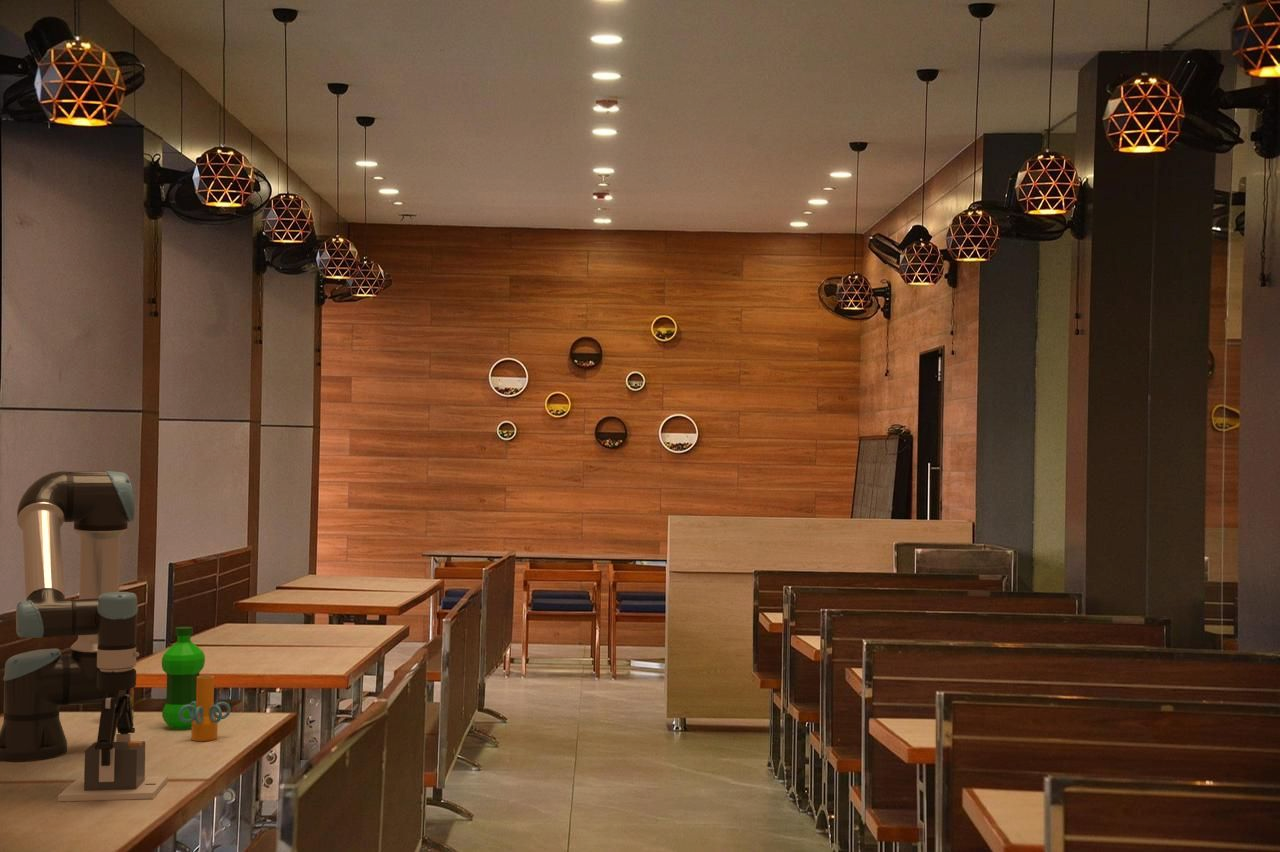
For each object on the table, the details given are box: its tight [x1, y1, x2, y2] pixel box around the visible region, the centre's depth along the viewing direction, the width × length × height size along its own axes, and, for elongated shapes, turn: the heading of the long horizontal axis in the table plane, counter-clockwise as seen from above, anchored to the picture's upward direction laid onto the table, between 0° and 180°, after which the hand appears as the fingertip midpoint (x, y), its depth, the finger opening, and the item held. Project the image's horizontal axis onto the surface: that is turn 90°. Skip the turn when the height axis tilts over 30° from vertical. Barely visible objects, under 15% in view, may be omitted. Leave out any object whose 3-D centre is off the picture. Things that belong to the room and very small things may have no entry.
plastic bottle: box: [161, 626, 206, 730], centre depth 337 cm, size 10×10×25 cm
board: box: [57, 775, 169, 802], centre depth 273 cm, size 18×14×7 cm
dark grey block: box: [83, 740, 146, 791], centre depth 273 cm, size 10×8×9 cm
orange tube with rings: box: [179, 675, 231, 742], centre depth 324 cm, size 12×10×15 cm
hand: (114, 773), depth 273 cm, fingers open, 13 cm apart
